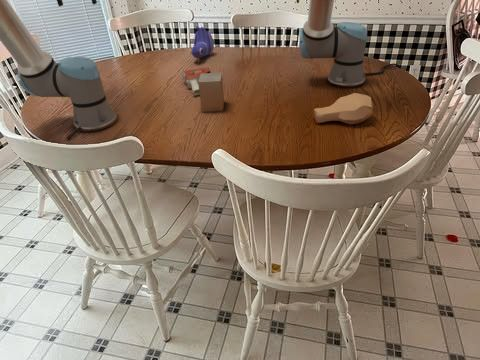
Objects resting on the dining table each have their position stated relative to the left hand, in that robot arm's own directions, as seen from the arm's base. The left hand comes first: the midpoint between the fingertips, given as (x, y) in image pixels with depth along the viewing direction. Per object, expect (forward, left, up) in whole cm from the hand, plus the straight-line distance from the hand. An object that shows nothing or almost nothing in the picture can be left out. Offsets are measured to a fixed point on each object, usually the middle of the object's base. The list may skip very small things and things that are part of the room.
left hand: (78, 4), depth 140 cm
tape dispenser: (-2, -43, -35) cm, 55 cm away
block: (-24, -52, -35) cm, 67 cm away
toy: (+38, -42, -35) cm, 67 cm away
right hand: (+28, -97, -8) cm, 101 cm away
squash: (-41, -99, -35) cm, 112 cm away
